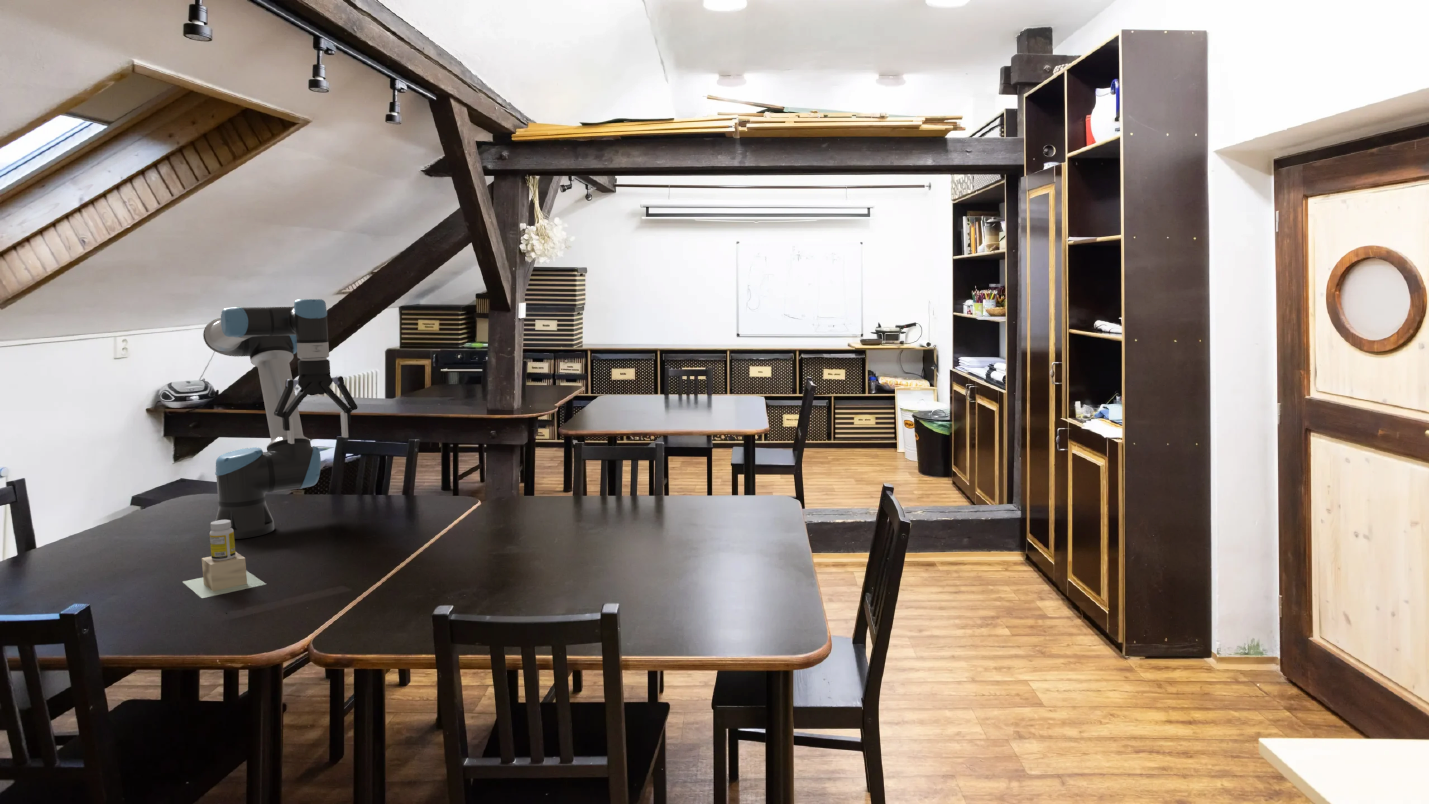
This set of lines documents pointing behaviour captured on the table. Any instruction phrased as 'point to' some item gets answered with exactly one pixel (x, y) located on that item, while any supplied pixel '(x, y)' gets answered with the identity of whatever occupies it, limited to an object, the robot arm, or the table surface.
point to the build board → (204, 591)
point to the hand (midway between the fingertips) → (318, 440)
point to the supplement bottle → (222, 540)
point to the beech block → (224, 572)
